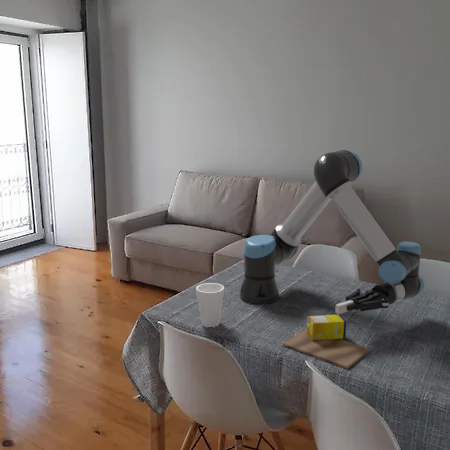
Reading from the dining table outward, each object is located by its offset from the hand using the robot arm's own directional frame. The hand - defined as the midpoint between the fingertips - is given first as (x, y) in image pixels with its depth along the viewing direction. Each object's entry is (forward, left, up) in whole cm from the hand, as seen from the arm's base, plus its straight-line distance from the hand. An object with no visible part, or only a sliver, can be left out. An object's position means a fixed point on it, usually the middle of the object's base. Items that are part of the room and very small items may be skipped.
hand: (337, 309), depth 157 cm
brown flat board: (0, -6, -11) cm, 12 cm away
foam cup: (-39, -15, -11) cm, 44 cm away
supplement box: (0, +5, -7) cm, 9 cm away
